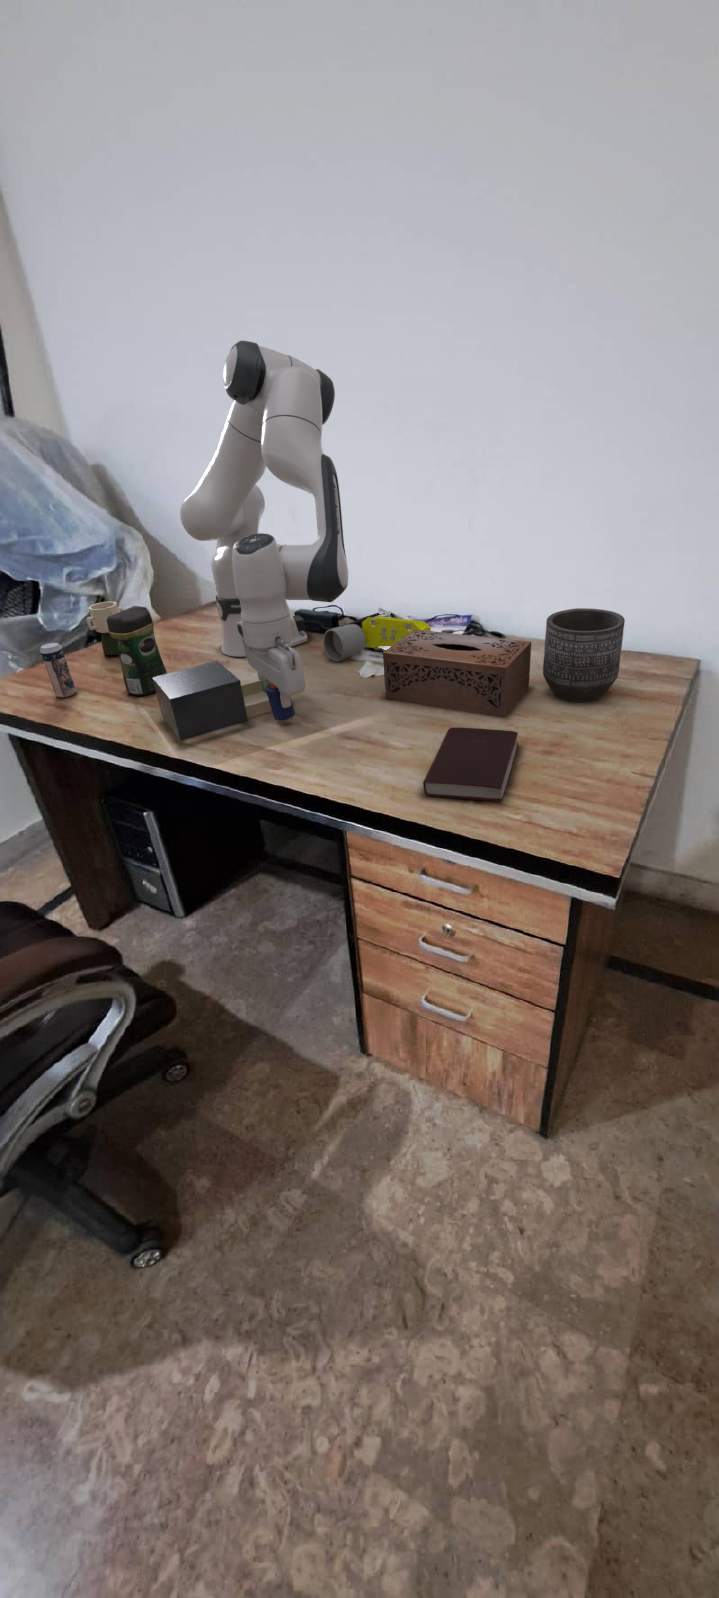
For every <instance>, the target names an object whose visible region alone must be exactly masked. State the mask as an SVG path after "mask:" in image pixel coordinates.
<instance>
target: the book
mask: <svg viewBox="0 0 719 1598" xmlns="http://www.w3.org/2000/svg"><path fill="white" fill-rule="evenodd" d="M518 735H519V733H518V732H517V731H513V730H504V729H491V728H490V729H489V728H477V727H476V728H475V727H458V726H457V727H449V728H448V729H447V731H446V733H445V735H444V737H443V739H442V742H441V744H440V746H439V749H438V751H437V753H436V755H435V756H434V759H433V762H432V763H431V764H430V767H429V769H428V771H427V773H426V775H425V778H424V780H423V782H422V784H423V785H422V786H423V792H424V795H425V796H430V797H435V798H436V797H437V798H451V799H463V800H464V799H465V800H479V801H491V802H502V801H503V800H504V797H505V793H506V789H507V786H508V782H509V779H510V775H511V772H512V768H513V764H514V760H515V757H516V754H517V751H518V747H519V742H517V738H518Z"/></svg>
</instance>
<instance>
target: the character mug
mask: <svg viewBox="0 0 719 1598" xmlns="http://www.w3.org/2000/svg"><path fill="white" fill-rule="evenodd" d="M123 610H125V609H124V608H123V606H119V607H118V604H117V602H116V601H101V602H97V603H93V604H91V605H89V606H88V612H89V615H90V616H87V617H86V619H85V620H86V625H87V627H88V629H89V631H94V630H95V632H97V633H100V634H101V635H100V638H101V639H100V640H101V646H102V647H101V648H102V651H103V655H106V656H107V655H108V656H117V655H119V654H118V650H117V647H116V644H115V641H114V639H113V638H112V637H111V635H110V634H109V630H108V624H107V617H108V616H111V615H114V614H116V613H119V612H121V611H123Z"/></svg>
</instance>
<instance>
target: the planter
mask: <svg viewBox="0 0 719 1598" xmlns="http://www.w3.org/2000/svg"><path fill="white" fill-rule="evenodd" d="M625 620H626V619H625V618H624V616H623V615H622V614H620V613H618V612H615V611H613V610H606V609H602V608H601V609H600V608H599V609H598V608H587V607H585V608H584V607H583V608H581V607H579V608H569V609H564V610H560V611H557V612H553V613H551V614H550V615H549V616H548V617H547V618H546V623H545V634H544V635H545V637H544V652H543V653H544V655H543V661H542V662H543V664H542V676H543V677H544V680H545V682H546V683H547V686H548V687H549V689H550V691H551V692H552V693H553V696H555V697H556V698H558V699H560V700H562V701H565V702H570V703H590V702H594V701H597V700H600V699H601V698H602V697H603V696H604V695H605V694H606V693H607V691H609V690H610V688H611V687H612V686H613V685H614V683H615V682H616V680H617V679H618V676H619V671H620V666H621V665H620V664H621V653H622V647H623V640H624V639H623V638H624V631H625V622H626V621H625Z"/></svg>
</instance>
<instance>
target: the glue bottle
mask: <svg viewBox="0 0 719 1598" xmlns="http://www.w3.org/2000/svg"><path fill="white" fill-rule="evenodd" d="M265 689H266V693H267V696H268V699H269V702H270V706H271V709H272V711H271V713H272V715H273V718H274V720H276V721H277V722H278V721H281V722H282V721H287V720H290V719H292V718H293V717H294V716H295V714H296V710H295V707H294V703H293V700H292V696H291V697H290V699H291V706H290V707H286V708H283V707H282V706H281V705H280V702H279V697H280V692H279V689H278V688H277V687H276V686H275V685H274V684H272V683H271V682H269V684H268V685H267V686H266V688H265Z"/></svg>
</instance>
